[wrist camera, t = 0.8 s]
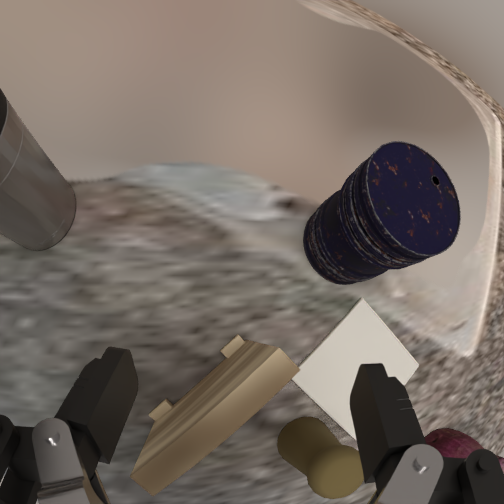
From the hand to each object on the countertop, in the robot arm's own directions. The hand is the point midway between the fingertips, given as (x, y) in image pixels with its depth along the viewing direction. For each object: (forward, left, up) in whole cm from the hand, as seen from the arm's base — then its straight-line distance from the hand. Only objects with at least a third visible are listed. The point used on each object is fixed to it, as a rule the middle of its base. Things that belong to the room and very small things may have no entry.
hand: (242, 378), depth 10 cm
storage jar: (+2, +18, -22) cm, 29 cm away
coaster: (+14, +9, -22) cm, 28 cm away
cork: (+15, -1, -22) cm, 27 cm away
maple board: (+3, -4, -22) cm, 23 cm away
